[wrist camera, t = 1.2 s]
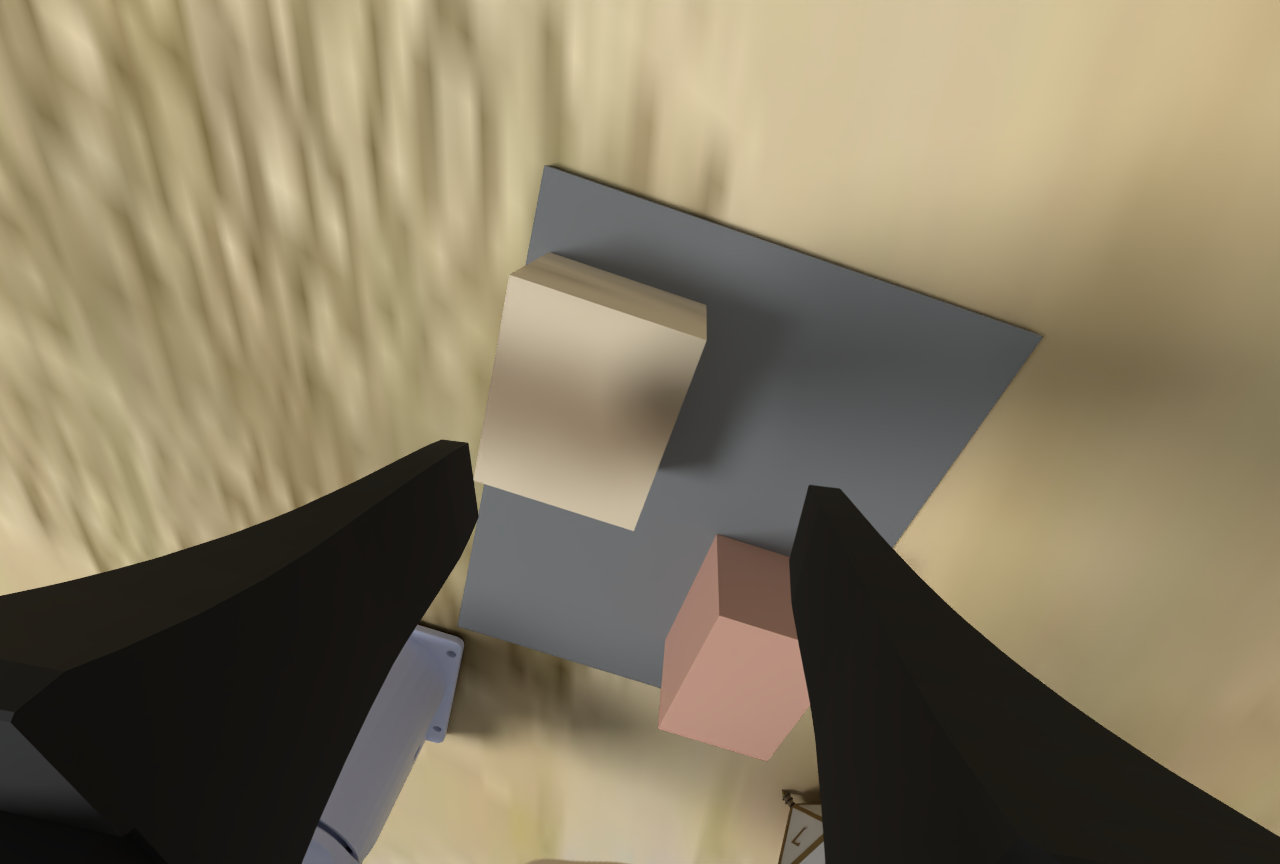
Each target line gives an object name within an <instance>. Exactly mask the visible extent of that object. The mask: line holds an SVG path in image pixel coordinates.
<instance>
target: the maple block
mask: <svg viewBox="0 0 1280 864" xmlns="http://www.w3.org/2000/svg"><path fill="white" fill-rule="evenodd" d="M706 341H707V311H706V305H705V304H702V303H699V302H696V301H693V300H690V299H687V298H684V297H681V296H678V295H675V294H672V293H669V292H666V291H663V290H660V289H657V288H654V287H651V286H648V285H645V284H642V283H640V282H637V281H634V280H631V279H628V278H625V277H622V276H619V275H616V274H613V273H610V272H607V271H604V270H601V269H598V268H595V267H592V266H589V265H586V264H583V263H580V262H577V261H574V260H571V259H568V258H565V257H562V256H559V255H556V254H553V253H550V252H549V253H547V254H545V255H543V256H542V257H540V258H538V259H536V260H535V261H533V262H531V263H529V264H528V265H526V266H524V267H522V268H520V269H519V270H517V271H515V272H513V273H512V274H510V275H509V281H508V286H507V292H506V298H505V303H504V309H503V315H502V321H501V326H500V332H499V338H498V343H497V349H496V355H495V360H494V366H493V372H492V378H491V383H490V389H489V395H488V400H487V406H486V412H485V417H484V423H483V429H482V435H481V440H480V446H479V452H478V457H477V463H476V469H475V474H474V481H477V482H480V483H483V484H486V485H489V486H492V487H496V488H499V489H502V490H505V491H508V492H511V493H515V494H518V495H521V496H524V497H527V498H530V499H534V500H537V501H540V502H543V503H546V504H549V505H553V506H556V507H559V508H562V509H565V510H568V511H571V512H575V513H578V514H581V515H584V516H587V517H590V518H594V519H597V520H600V521H603V522H606V523H609V524H613V525H616V526H619V527H622V528H625V529H628V530H632V531H634V529H635V527H636V524H637V521H638V519H639V516H640V514H641V511H642V508H643V506H644V503H645V500H646V498H647V495H648V493H649V490H650V487H651V485H652V482H653V480H654V477H655V474H656V472H657V469H658V466H659V464H660V461H661V459H662V456H663V453H664V451H665V448H666V446H667V443H668V440H669V438H670V435H671V432H672V430H673V427H674V425H675V422H676V419H677V417H678V414H679V412H680V409H681V406H682V404H683V401H684V398H685V396H686V393H687V391H688V388H689V385H690V383H691V380H692V378H693V375H694V372H695V370H696V367H697V364H698V362H699V359H700V357H701V354H702V351H703V349H704V346H705V344H706Z"/></svg>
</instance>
